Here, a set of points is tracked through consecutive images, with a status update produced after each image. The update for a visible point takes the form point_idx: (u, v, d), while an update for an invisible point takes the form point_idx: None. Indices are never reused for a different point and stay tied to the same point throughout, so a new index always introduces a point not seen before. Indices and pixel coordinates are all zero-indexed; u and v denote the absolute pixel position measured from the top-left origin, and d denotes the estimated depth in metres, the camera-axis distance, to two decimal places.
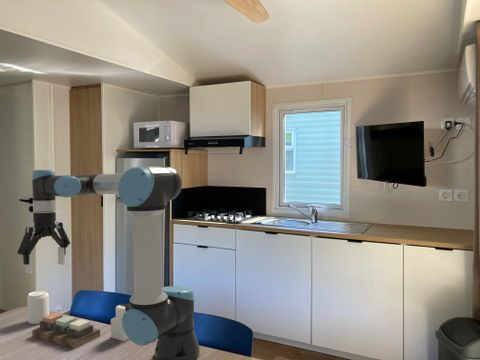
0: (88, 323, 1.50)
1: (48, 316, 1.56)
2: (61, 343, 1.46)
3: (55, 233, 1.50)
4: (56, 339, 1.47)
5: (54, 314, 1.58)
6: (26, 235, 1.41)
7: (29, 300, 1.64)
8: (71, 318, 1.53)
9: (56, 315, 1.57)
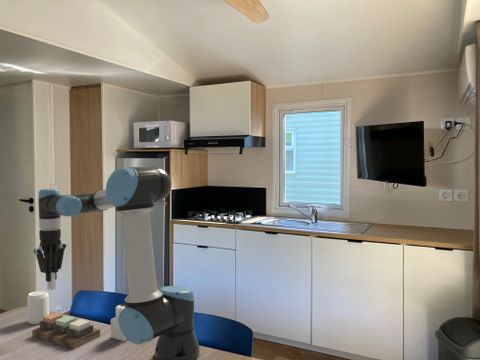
0: (88, 323, 1.50)
1: (48, 316, 1.56)
2: (61, 343, 1.46)
3: (56, 252, 1.56)
4: (56, 339, 1.47)
5: (54, 314, 1.58)
6: (38, 257, 1.51)
7: (29, 300, 1.64)
8: (71, 318, 1.53)
9: (56, 315, 1.57)
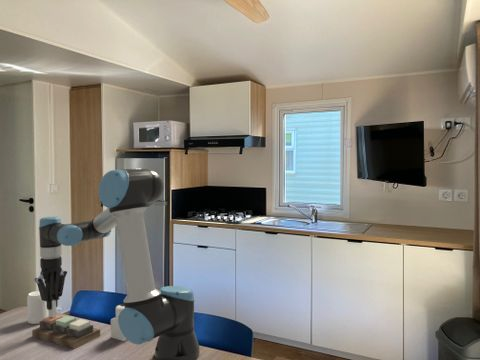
0: (88, 323, 1.50)
1: (48, 318, 1.56)
2: (61, 343, 1.46)
3: (57, 279, 1.56)
4: (56, 339, 1.47)
5: None
6: (39, 285, 1.51)
7: (29, 300, 1.64)
8: (71, 318, 1.53)
9: (56, 317, 1.57)
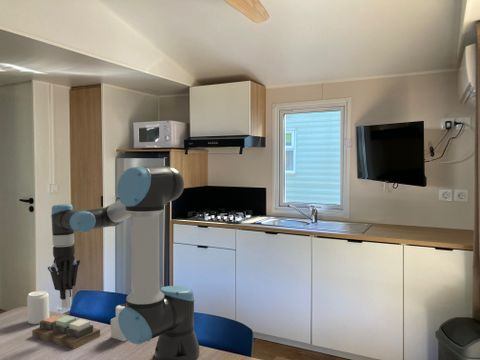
0: (88, 323, 1.50)
1: (48, 319, 1.56)
2: (61, 343, 1.46)
3: (70, 268, 1.52)
4: (56, 339, 1.47)
5: (54, 317, 1.58)
6: (52, 274, 1.47)
7: (29, 300, 1.64)
8: (71, 318, 1.53)
9: (56, 318, 1.57)
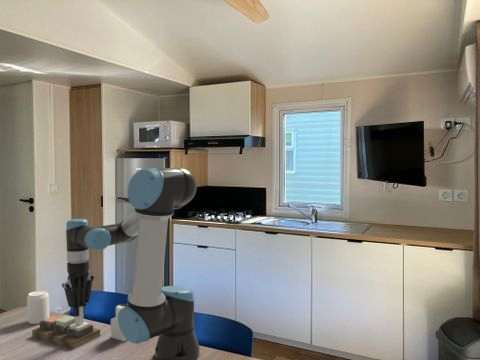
0: (88, 325, 1.50)
1: (48, 319, 1.56)
2: (61, 343, 1.46)
3: (84, 285, 1.49)
4: (56, 339, 1.47)
5: (54, 317, 1.58)
6: (66, 291, 1.44)
7: (29, 300, 1.64)
8: (71, 318, 1.53)
9: (56, 318, 1.57)
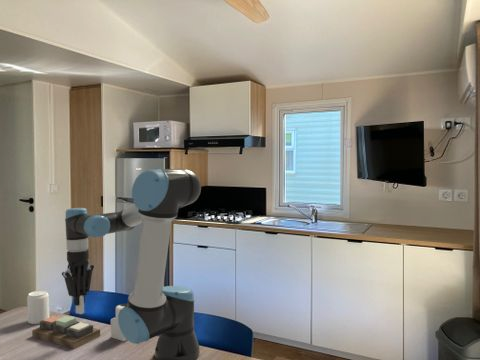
0: (88, 326, 1.50)
1: (48, 319, 1.56)
2: (61, 343, 1.46)
3: (84, 274, 1.49)
4: (56, 339, 1.47)
5: (54, 317, 1.58)
6: (67, 280, 1.44)
7: (29, 300, 1.64)
8: (71, 318, 1.53)
9: (56, 318, 1.57)
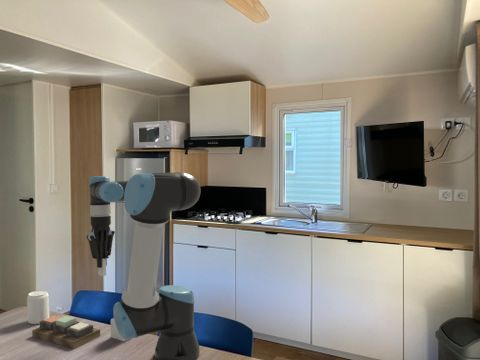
0: (88, 326, 1.50)
1: (48, 319, 1.56)
2: (61, 343, 1.46)
3: (107, 238, 1.58)
4: (56, 339, 1.47)
5: (54, 317, 1.58)
6: (91, 243, 1.53)
7: (29, 300, 1.64)
8: (71, 318, 1.53)
9: (56, 318, 1.57)
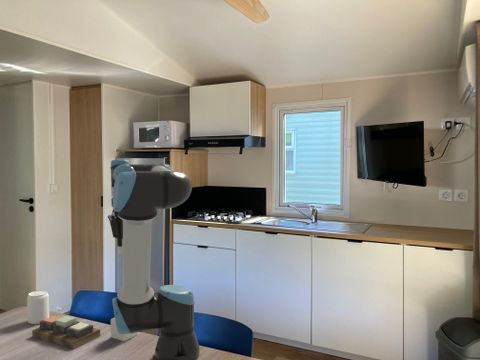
0: (88, 326, 1.50)
1: (48, 319, 1.56)
2: (61, 343, 1.46)
3: None
4: (56, 339, 1.47)
5: (54, 317, 1.58)
6: (112, 222, 1.61)
7: (29, 300, 1.64)
8: (71, 318, 1.53)
9: (56, 318, 1.57)
